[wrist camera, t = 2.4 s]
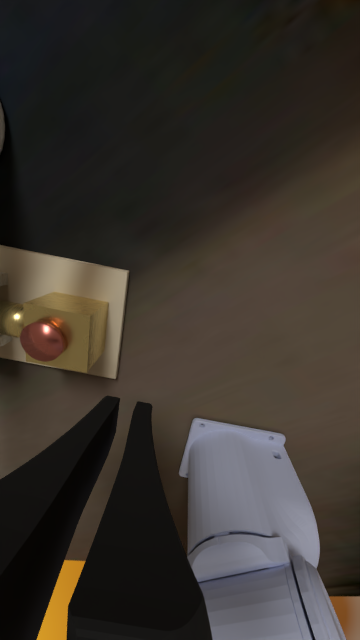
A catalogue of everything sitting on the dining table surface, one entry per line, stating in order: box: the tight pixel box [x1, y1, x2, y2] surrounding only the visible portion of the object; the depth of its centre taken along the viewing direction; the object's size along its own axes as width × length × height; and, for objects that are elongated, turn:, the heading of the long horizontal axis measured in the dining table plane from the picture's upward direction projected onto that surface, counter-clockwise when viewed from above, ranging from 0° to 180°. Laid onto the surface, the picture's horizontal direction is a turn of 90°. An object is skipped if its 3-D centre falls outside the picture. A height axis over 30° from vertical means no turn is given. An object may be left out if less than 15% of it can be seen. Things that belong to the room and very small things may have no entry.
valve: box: [0, 292, 109, 373], centre depth 17 cm, size 8×4×4 cm, turn 79°
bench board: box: [0, 245, 129, 379], centre depth 19 cm, size 19×10×1 cm, turn 79°
